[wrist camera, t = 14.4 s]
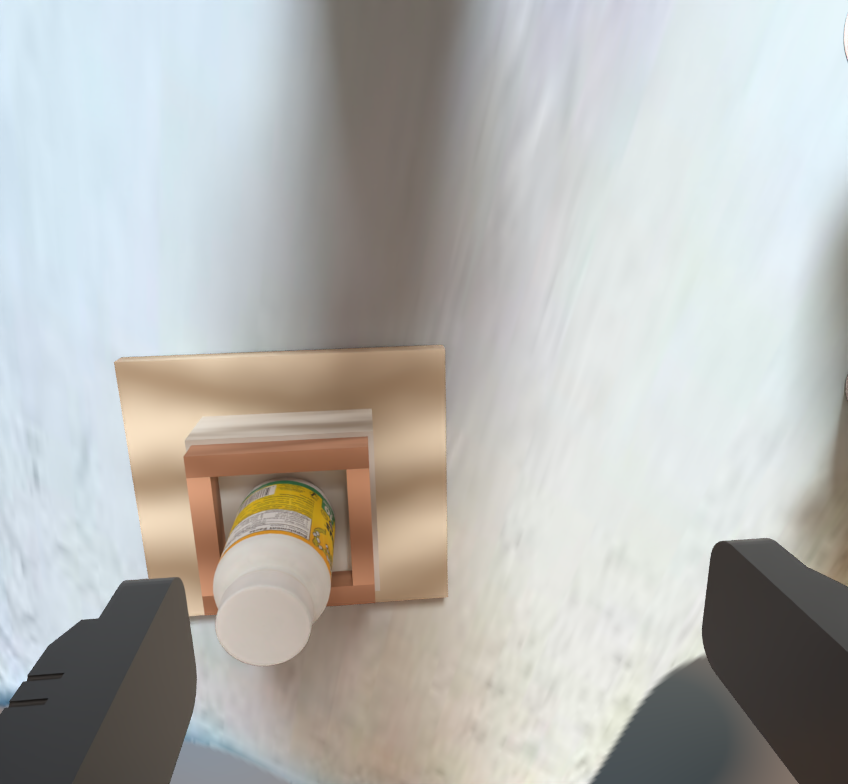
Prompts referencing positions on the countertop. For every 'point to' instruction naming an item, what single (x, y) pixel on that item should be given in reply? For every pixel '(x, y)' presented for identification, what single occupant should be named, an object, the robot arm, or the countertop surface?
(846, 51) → the champagne flute
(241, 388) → the tower base
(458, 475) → the countertop surface
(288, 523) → the supplement bottle
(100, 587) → the countertop surface
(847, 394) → the house plant
